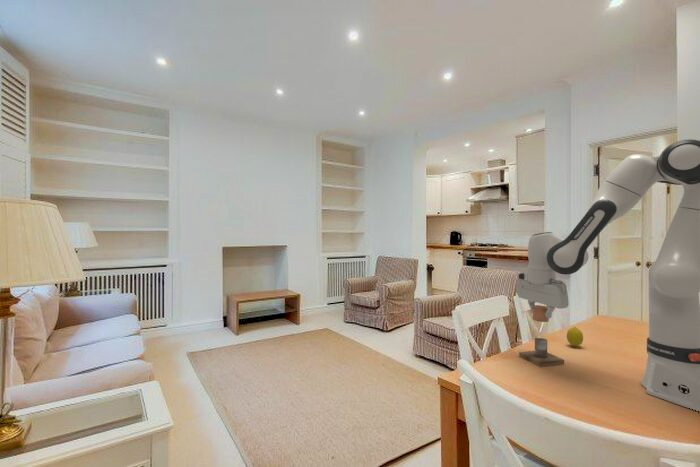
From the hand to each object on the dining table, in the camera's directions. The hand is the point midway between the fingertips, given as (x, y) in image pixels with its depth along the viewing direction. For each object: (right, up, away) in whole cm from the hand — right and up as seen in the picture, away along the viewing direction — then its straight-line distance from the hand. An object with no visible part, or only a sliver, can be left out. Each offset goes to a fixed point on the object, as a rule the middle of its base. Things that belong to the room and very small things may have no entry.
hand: (540, 315), depth 122 cm
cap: (0, -2, 0) cm, 2 cm away
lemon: (+22, -16, +14) cm, 30 cm away
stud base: (0, -16, 0) cm, 16 cm away
